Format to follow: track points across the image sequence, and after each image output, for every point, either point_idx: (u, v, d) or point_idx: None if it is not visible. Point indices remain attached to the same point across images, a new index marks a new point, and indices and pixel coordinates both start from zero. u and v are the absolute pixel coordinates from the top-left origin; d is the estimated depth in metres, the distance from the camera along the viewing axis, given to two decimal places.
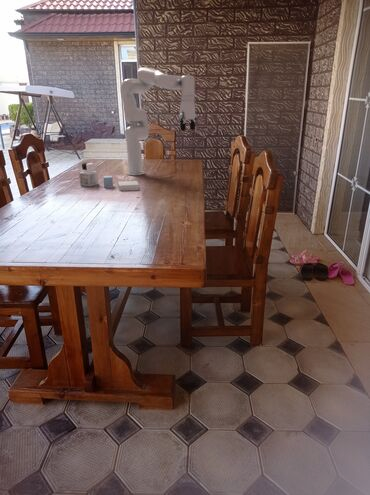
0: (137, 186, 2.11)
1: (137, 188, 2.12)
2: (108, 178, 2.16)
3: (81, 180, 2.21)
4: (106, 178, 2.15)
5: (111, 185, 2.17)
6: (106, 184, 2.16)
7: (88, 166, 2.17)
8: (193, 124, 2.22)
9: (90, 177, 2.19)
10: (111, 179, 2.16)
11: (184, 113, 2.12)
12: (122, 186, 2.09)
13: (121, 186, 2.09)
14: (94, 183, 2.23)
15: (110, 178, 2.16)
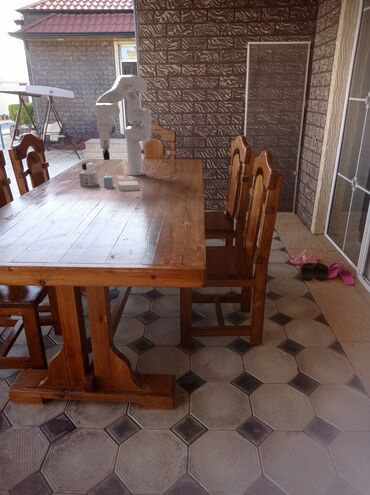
0: (137, 186, 2.11)
1: (137, 188, 2.12)
2: (108, 178, 2.16)
3: (81, 180, 2.21)
4: (106, 178, 2.15)
5: (111, 185, 2.17)
6: (106, 184, 2.16)
7: (88, 166, 2.17)
8: None
9: (90, 177, 2.19)
10: (111, 179, 2.16)
11: (107, 142, 2.06)
12: (122, 186, 2.09)
13: (121, 186, 2.09)
14: (94, 183, 2.23)
15: (110, 178, 2.16)
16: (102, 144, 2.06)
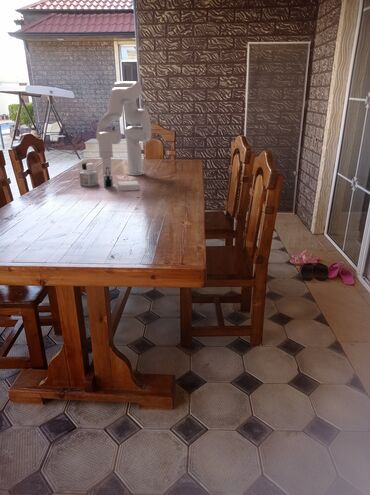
0: (137, 186, 2.11)
1: (137, 188, 2.12)
2: None
3: (81, 180, 2.21)
4: None
5: (111, 185, 2.17)
6: None
7: (88, 166, 2.17)
8: None
9: (90, 177, 2.19)
10: (111, 179, 2.16)
11: (109, 171, 2.12)
12: (122, 186, 2.09)
13: (121, 186, 2.09)
14: (94, 183, 2.23)
15: None
16: (104, 171, 2.11)
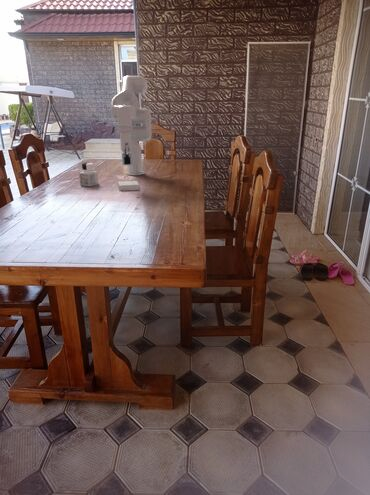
0: (137, 186, 2.11)
1: (137, 188, 2.12)
2: None
3: (81, 180, 2.21)
4: None
5: (130, 162, 2.08)
6: None
7: (88, 166, 2.17)
8: None
9: (90, 177, 2.19)
10: (130, 155, 2.07)
11: (129, 147, 2.03)
12: (122, 186, 2.09)
13: (121, 186, 2.09)
14: (94, 183, 2.23)
15: None
16: (123, 147, 2.02)
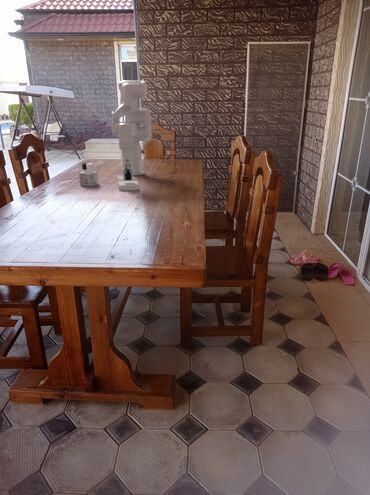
0: (137, 186, 2.11)
1: (137, 188, 2.12)
2: None
3: (81, 180, 2.21)
4: None
5: (131, 178, 2.12)
6: None
7: (88, 166, 2.17)
8: None
9: (90, 177, 2.19)
10: (131, 171, 2.10)
11: (129, 163, 2.06)
12: (122, 186, 2.09)
13: (121, 186, 2.09)
14: (94, 183, 2.23)
15: (130, 171, 2.10)
16: (124, 163, 2.05)
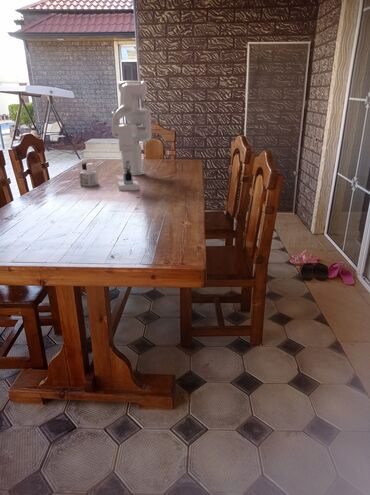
0: (137, 186, 2.11)
1: (137, 188, 2.12)
2: None
3: (81, 180, 2.21)
4: None
5: (131, 181, 2.12)
6: None
7: (88, 166, 2.17)
8: None
9: (90, 177, 2.19)
10: (131, 175, 2.11)
11: (129, 163, 2.06)
12: (122, 186, 2.09)
13: (121, 186, 2.09)
14: (94, 183, 2.23)
15: None
16: (124, 165, 2.06)
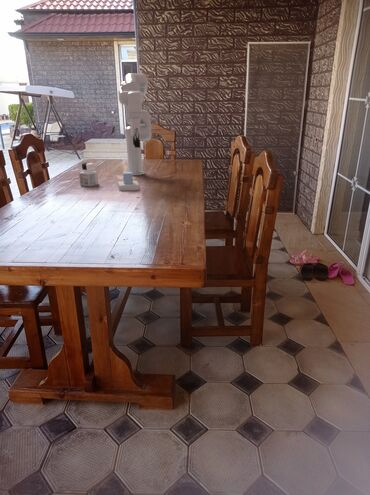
0: (137, 186, 2.11)
1: (137, 188, 2.12)
2: (128, 174, 2.10)
3: (81, 180, 2.21)
4: (126, 174, 2.10)
5: (131, 181, 2.12)
6: (126, 180, 2.11)
7: (88, 166, 2.17)
8: None
9: (90, 177, 2.19)
10: (131, 175, 2.11)
11: (138, 130, 2.10)
12: (122, 186, 2.09)
13: (121, 186, 2.09)
14: (94, 183, 2.23)
15: (130, 174, 2.11)
16: (133, 132, 2.09)
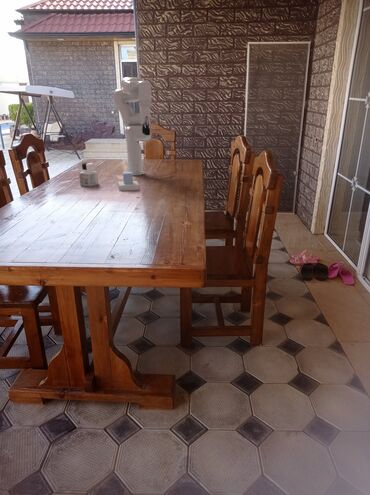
0: (137, 186, 2.11)
1: (137, 188, 2.12)
2: (128, 174, 2.10)
3: (81, 180, 2.21)
4: (126, 174, 2.10)
5: (131, 181, 2.12)
6: (126, 180, 2.11)
7: (88, 166, 2.17)
8: None
9: (90, 177, 2.19)
10: (131, 175, 2.11)
11: (148, 118, 2.17)
12: (122, 186, 2.09)
13: (121, 186, 2.09)
14: (94, 183, 2.23)
15: (130, 174, 2.11)
16: (143, 120, 2.16)
